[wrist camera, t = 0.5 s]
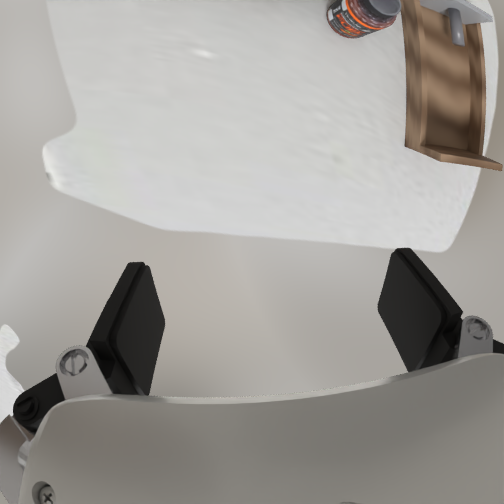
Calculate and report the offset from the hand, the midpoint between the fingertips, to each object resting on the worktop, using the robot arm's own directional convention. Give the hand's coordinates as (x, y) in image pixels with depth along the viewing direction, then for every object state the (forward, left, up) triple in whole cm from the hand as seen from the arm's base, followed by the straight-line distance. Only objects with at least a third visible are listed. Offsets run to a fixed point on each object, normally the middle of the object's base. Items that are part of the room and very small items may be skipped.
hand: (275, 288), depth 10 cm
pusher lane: (-14, +30, -29) cm, 44 cm away
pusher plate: (-22, +30, -27) cm, 46 cm away
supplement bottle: (-19, +14, -29) cm, 37 cm away
